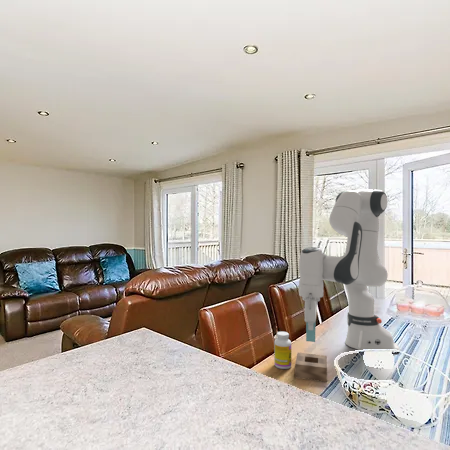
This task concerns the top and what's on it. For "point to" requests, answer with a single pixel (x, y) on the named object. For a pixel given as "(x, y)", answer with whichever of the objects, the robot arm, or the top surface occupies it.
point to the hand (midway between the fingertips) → (311, 327)
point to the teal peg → (310, 333)
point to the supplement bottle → (282, 351)
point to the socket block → (311, 367)
